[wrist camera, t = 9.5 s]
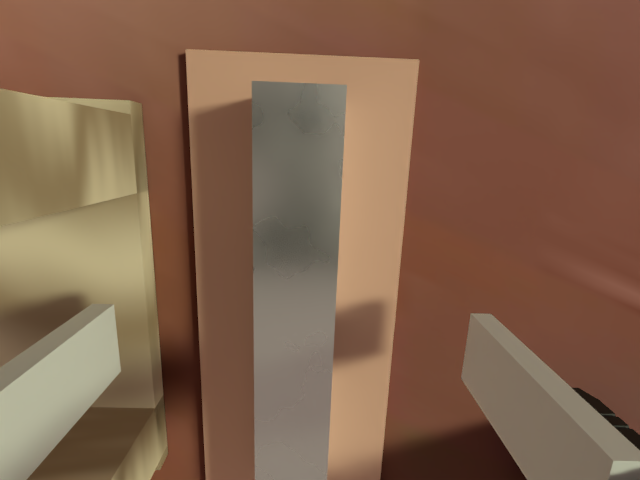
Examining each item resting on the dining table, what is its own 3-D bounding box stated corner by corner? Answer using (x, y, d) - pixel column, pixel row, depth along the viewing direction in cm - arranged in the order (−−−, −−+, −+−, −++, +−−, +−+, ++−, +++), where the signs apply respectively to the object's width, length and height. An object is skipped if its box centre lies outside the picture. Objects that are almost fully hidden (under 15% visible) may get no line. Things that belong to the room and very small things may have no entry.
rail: (264, 94, 14) (251, 80, 11) (340, 98, 14) (346, 84, 11) (264, 469, 19) (255, 528, 16) (322, 470, 19) (324, 529, 16)
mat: (189, 52, 14) (185, 49, 14) (416, 61, 15) (419, 59, 14) (208, 485, 19) (206, 492, 19) (377, 487, 20) (378, 494, 19)
